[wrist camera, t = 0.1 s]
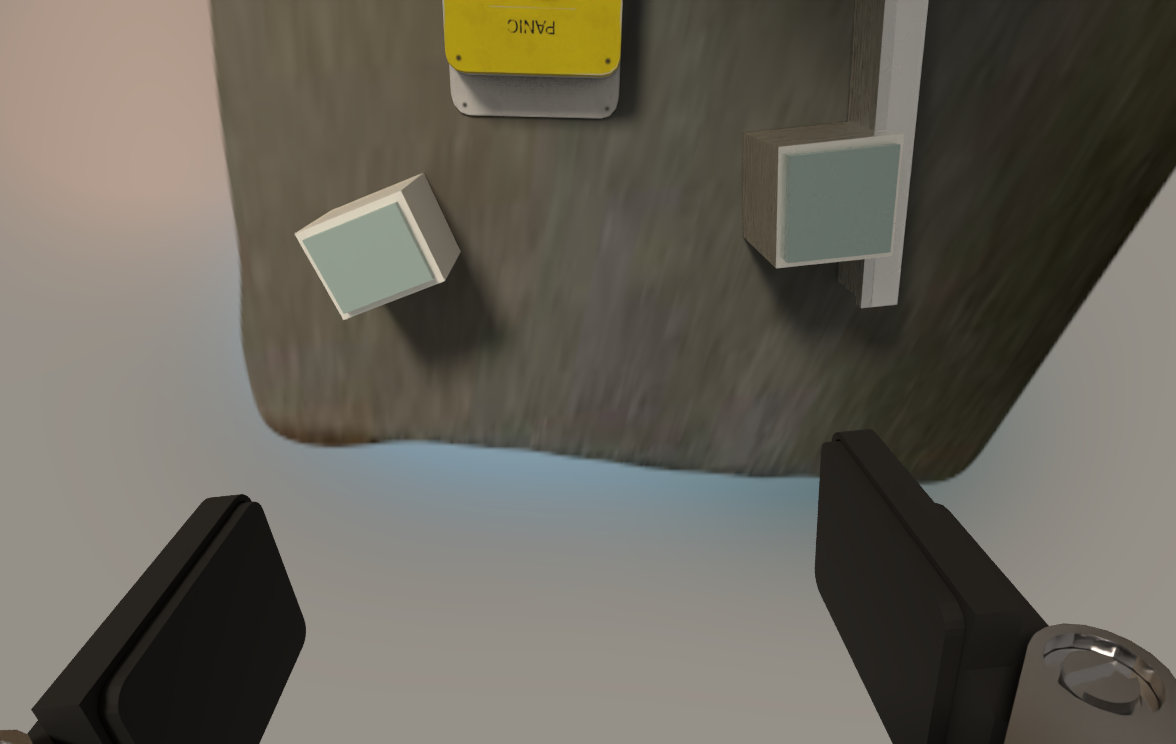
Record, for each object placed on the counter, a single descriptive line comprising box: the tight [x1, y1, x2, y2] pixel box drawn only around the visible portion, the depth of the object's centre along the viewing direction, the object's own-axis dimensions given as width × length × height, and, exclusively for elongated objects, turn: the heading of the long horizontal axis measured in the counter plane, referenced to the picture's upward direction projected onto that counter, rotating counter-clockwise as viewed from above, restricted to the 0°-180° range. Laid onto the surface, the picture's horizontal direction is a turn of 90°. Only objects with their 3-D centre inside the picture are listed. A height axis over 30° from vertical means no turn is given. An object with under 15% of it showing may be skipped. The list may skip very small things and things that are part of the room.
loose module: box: [295, 173, 461, 320], centre depth 37 cm, size 5×6×6 cm
